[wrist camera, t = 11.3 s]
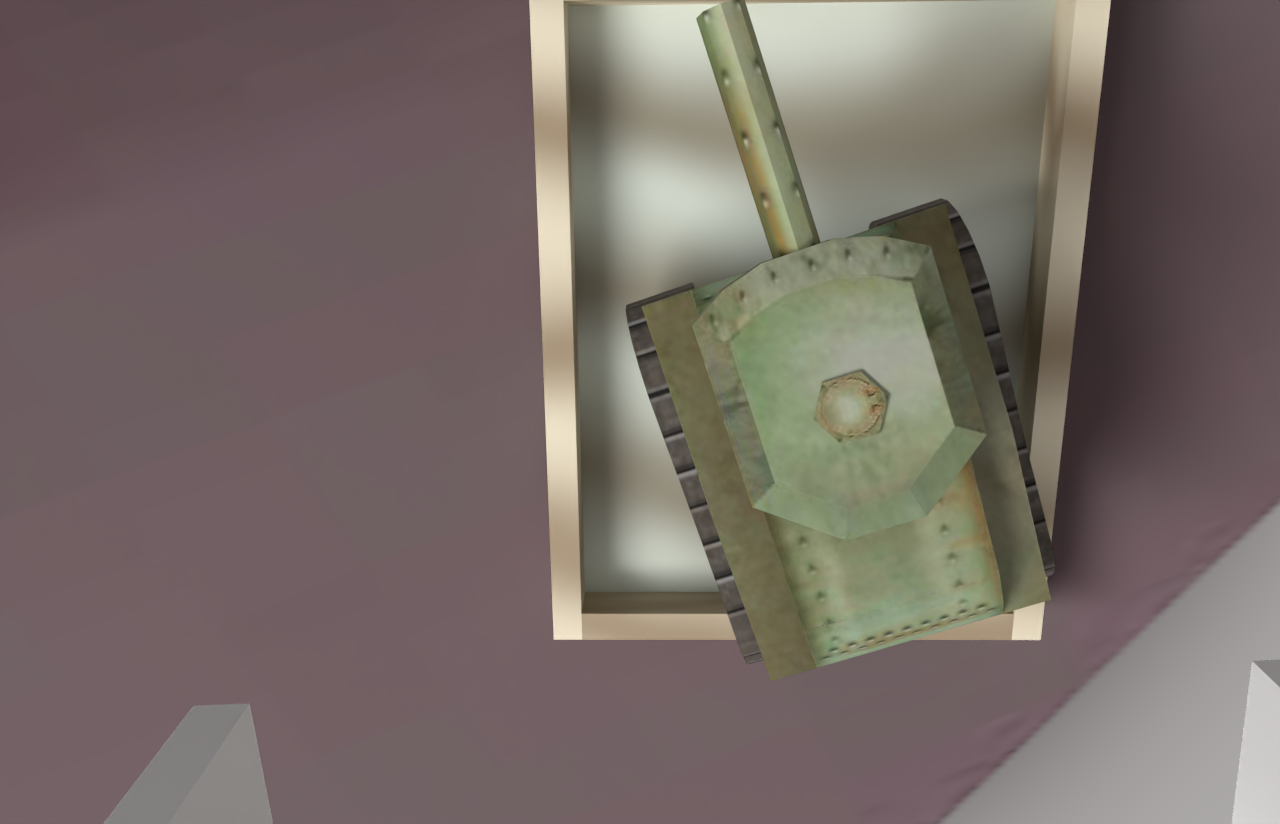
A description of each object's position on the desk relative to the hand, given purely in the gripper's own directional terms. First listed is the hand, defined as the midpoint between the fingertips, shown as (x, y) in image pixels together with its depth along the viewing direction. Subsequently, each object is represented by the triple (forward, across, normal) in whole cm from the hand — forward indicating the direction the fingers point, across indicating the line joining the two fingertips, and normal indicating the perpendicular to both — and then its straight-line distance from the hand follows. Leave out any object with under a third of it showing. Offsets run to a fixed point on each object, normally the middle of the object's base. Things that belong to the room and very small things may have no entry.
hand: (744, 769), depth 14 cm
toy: (+22, +4, 0) cm, 23 cm away
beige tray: (+23, +4, +1) cm, 24 cm away
